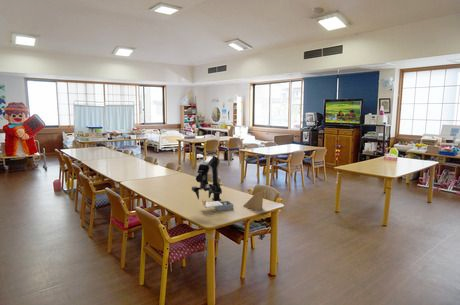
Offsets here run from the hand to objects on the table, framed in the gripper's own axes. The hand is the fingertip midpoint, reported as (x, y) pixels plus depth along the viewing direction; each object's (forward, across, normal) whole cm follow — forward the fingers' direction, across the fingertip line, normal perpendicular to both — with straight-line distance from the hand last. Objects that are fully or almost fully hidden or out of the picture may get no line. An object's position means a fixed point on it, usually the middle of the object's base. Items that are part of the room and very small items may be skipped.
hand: (203, 198), depth 243 cm
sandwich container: (+11, +41, -7) cm, 43 cm away
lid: (+6, +7, 0) cm, 9 cm away
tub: (+10, +18, 0) cm, 20 cm away
